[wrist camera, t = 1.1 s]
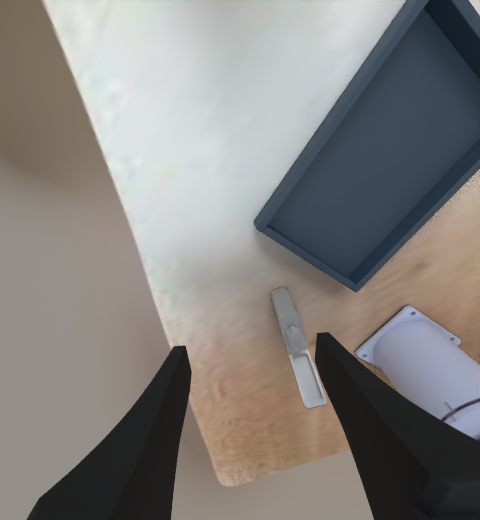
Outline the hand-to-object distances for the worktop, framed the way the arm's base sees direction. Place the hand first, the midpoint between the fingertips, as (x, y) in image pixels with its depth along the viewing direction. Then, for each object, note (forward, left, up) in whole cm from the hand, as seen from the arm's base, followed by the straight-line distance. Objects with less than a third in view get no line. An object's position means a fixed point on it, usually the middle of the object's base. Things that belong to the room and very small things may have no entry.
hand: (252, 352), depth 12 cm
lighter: (-7, +2, -10) cm, 12 cm away
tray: (-4, -13, -10) cm, 17 cm away
